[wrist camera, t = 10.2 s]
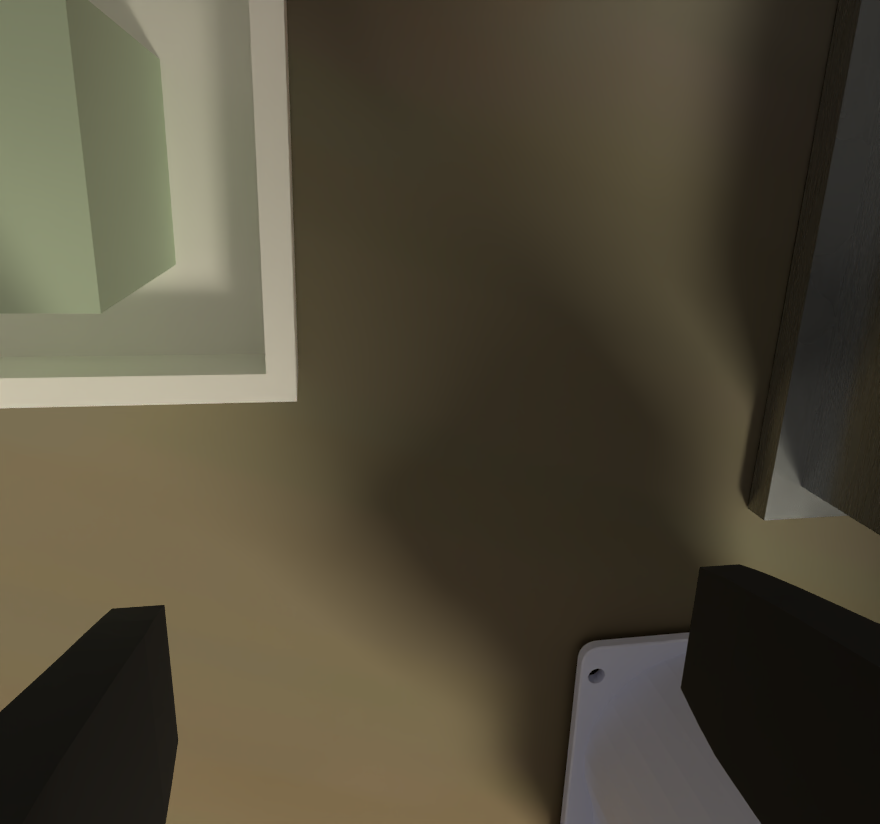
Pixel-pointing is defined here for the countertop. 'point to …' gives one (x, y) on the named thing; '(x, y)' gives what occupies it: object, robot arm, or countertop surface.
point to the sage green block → (79, 161)
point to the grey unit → (832, 305)
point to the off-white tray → (192, 233)
